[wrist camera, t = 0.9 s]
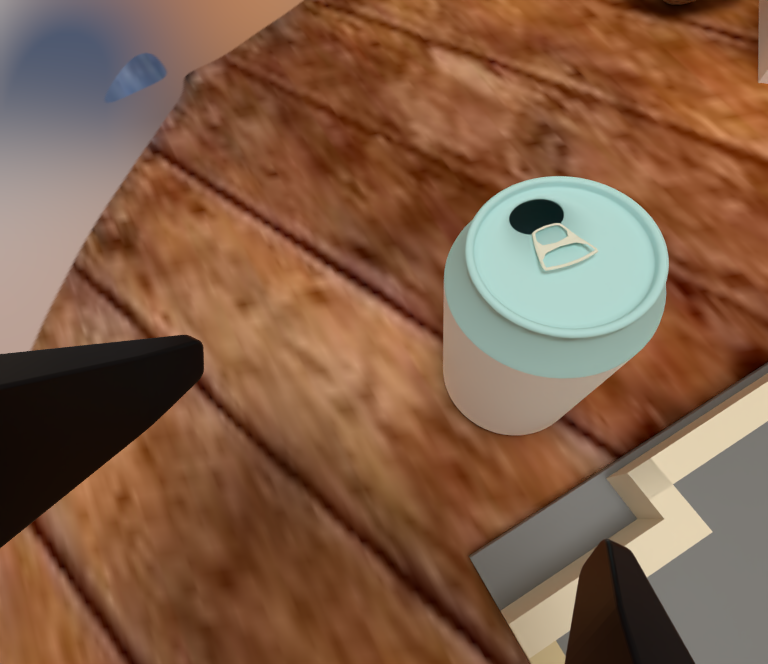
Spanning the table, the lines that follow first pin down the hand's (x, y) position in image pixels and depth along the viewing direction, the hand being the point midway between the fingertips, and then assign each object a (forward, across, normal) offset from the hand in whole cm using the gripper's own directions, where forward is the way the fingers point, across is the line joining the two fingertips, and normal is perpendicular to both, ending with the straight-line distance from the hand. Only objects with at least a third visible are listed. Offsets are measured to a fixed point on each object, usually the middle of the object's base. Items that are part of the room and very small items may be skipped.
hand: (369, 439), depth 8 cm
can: (+15, -2, +6) cm, 17 cm away
